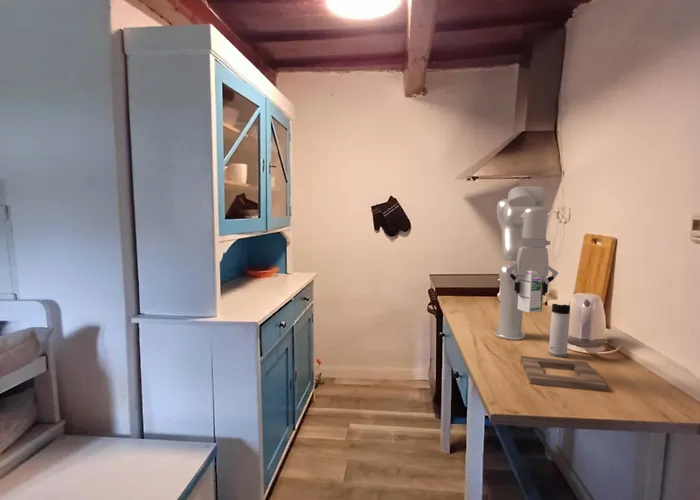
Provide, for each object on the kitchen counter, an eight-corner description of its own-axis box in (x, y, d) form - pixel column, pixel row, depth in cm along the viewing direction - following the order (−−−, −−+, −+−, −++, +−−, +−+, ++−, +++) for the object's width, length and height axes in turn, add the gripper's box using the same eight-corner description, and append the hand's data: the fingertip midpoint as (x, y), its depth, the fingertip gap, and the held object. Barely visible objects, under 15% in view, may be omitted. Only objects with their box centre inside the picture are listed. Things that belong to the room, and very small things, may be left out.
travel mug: (549, 356, 165) (553, 304, 162) (548, 350, 171) (551, 300, 169) (567, 358, 163) (571, 306, 160) (565, 353, 169) (569, 302, 166)
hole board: (520, 361, 159) (520, 355, 159) (586, 367, 155) (586, 361, 154) (530, 383, 140) (530, 377, 140) (605, 391, 135) (606, 384, 135)
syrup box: (529, 313, 149) (532, 271, 147) (516, 309, 154) (519, 268, 153) (542, 311, 151) (544, 270, 149) (529, 308, 156) (531, 267, 155)
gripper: (558, 243, 151) (555, 293, 153) (505, 241, 156) (503, 290, 158) (563, 245, 144) (559, 298, 146) (507, 243, 148) (505, 294, 150)
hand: (530, 293), depth 152 cm, fingers closed on syrup box, 8 cm apart
